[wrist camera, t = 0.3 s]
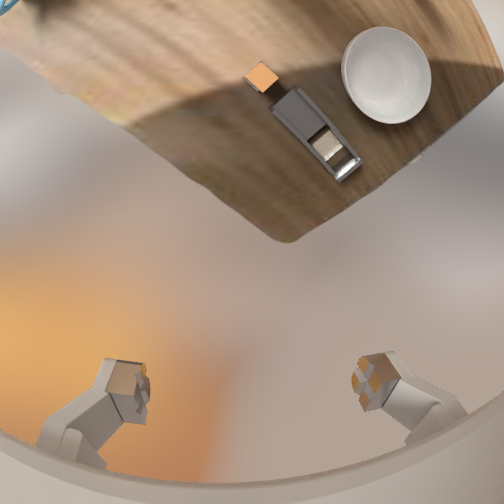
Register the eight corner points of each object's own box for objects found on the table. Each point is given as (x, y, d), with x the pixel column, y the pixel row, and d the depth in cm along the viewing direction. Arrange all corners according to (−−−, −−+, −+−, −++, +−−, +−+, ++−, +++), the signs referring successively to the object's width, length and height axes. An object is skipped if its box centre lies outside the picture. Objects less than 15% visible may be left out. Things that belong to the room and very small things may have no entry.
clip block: (259, 62, 41) (262, 63, 38) (274, 76, 43) (278, 78, 40) (244, 76, 43) (246, 78, 40) (259, 90, 45) (262, 92, 42)
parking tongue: (260, 61, 42) (261, 61, 41) (275, 74, 44) (276, 74, 43) (242, 78, 44) (242, 78, 43) (257, 91, 46) (258, 91, 45)
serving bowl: (311, 73, 44) (322, 76, 39) (368, 10, 33) (385, 7, 28) (378, 133, 53) (393, 143, 48) (427, 75, 42) (445, 81, 37)
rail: (293, 85, 45) (300, 87, 41) (354, 153, 56) (363, 162, 52) (268, 108, 48) (272, 112, 44) (331, 173, 59) (339, 182, 55)
